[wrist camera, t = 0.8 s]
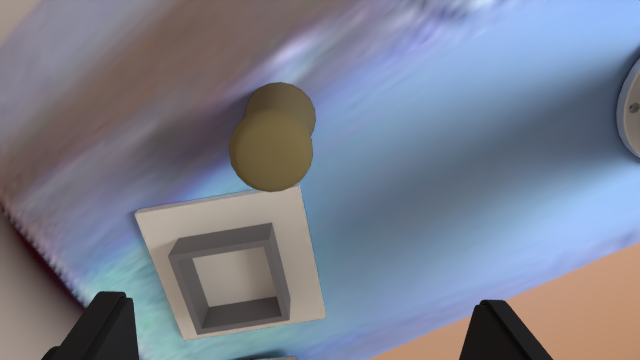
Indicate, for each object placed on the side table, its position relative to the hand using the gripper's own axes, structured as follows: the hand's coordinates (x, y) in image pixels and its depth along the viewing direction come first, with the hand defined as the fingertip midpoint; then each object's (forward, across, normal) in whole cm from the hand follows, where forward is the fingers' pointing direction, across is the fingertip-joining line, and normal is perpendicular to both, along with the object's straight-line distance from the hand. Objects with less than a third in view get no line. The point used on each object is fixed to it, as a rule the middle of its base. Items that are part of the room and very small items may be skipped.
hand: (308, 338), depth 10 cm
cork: (+24, +1, -1) cm, 24 cm away
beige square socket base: (+24, +4, +14) cm, 29 cm away
